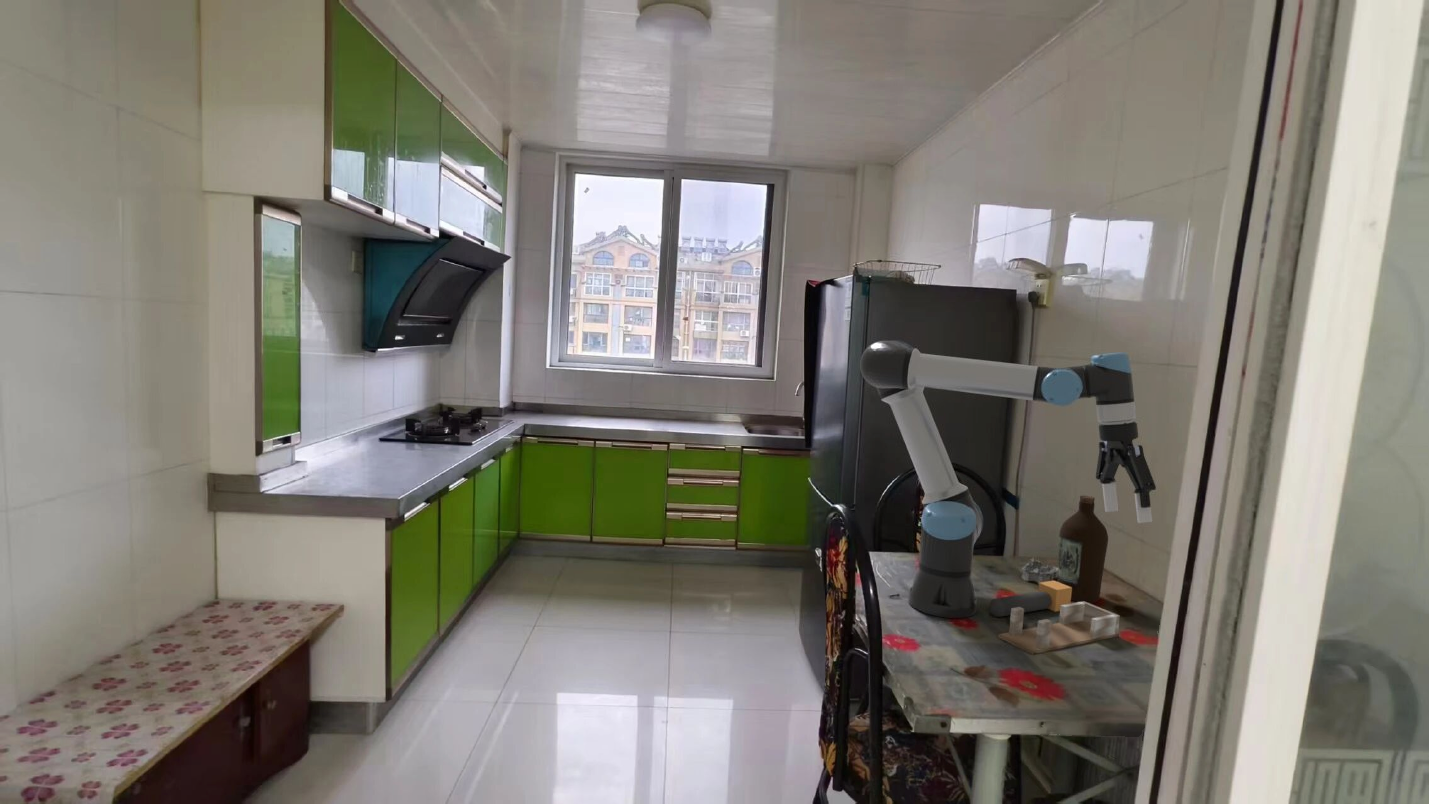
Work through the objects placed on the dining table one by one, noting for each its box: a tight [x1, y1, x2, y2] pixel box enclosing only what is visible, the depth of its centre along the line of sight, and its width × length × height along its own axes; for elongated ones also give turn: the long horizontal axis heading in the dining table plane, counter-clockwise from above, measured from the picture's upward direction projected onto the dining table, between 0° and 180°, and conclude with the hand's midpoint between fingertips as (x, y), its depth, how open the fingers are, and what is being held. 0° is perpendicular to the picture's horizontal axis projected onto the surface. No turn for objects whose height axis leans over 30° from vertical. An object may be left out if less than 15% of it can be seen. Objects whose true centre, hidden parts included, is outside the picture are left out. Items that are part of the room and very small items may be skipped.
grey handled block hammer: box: [988, 580, 1072, 618], centre depth 167 cm, size 22×5×5 cm, turn 115°
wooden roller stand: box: [997, 601, 1120, 655], centre depth 153 cm, size 26×9×6 cm, turn 115°
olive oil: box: [1057, 494, 1109, 604], centre depth 177 cm, size 11×11×25 cm
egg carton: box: [1020, 557, 1058, 585], centre depth 191 cm, size 11×8×4 cm
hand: (1127, 516), depth 161 cm, fingers open, 13 cm apart
